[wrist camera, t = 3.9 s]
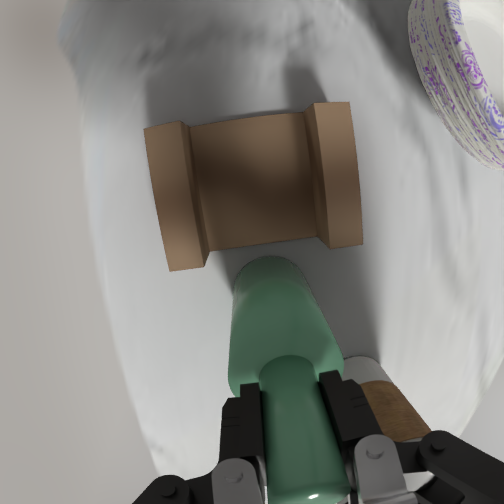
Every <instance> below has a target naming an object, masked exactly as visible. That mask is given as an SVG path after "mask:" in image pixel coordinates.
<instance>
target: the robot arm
mask: <svg viewBox="0 0 504 504" xmlns="http://www.w3.org/2000/svg"><path fill="white" fill-rule="evenodd" d="M319 385H320V388H321V391H322V394H323V397H324V401H325V404H326V407H327V410H328V413H329V417H330V420H331V423H332V426H333V430H334V433H335V436H336V439H337V443H338V446H339V449H340V453H341V456H342V459H343V462H344V466H345V469H346V473H347V476H348V479H349V483H350V486H351V491H350V493H349V494H348V504H418V502H419V503H420V504H504V463H503V462H501V461H499V460H498V459H496V458H494V457H492V456H490V455H488V454H486V453H485V452H482V451H481V450H479V449H477V448H475V447H473V446H472V445H470V444H468V443H466V442H464V441H463V440H461V439H459V438H457V437H456V436H454V435H452V434H450V433H449V432H446V431H442V430H437V431H432V432H430V433H428V434H426V435H425V436H424V437H423V438H422V440H421V441H415V442H396V441H393V440H391V439H390V438H389V437H387V436H385V435H384V434H383V432H382V430H381V428H380V426H379V424H378V422H377V419H376V417H375V415H374V413H373V411H372V409H371V406H370V405H369V402H368V400H367V398H366V397H365V394H364V392H363V389H362V387H361V386H360V385H359V384H358V383H357V382H355V381H354V380H353V379H349V380H344V381H342V378H341V376H340V373H339V371H338V370H337V369H336V370H331V371H326V372H321V373H319ZM264 486H267V482H266V458H265V445H264V431H263V418H262V405H261V392H260V386H259V382H255V383H246V384H240V397H233V398H228V399H227V401H226V403H225V404H224V406H223V407H222V421H221V436H220V452H219V461H218V464H217V465H216V466H215V468H214V469H213V470H212V471H211V472H210V473H208V474H206V475H204V476H201V477H197V478H193V479H189V480H184V479H182V478H181V477H179V476H175V475H164V476H161V477H158V478H156V479H155V480H154V481H153V482H152V483H151V484H150V485H149V486H148V487H147V488H146V490H144V491H143V493H142V494H141V495H140V496H139V497H138V498H137V499H136V500H135V501H134V502H133V503H132V504H265V489H264Z"/></svg>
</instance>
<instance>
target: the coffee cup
mask: <svg viewBox="0 0 504 504" xmlns="http://www.w3.org/2000/svg"><path fill="white" fill-rule="evenodd" d="M349 379H353V380H354V381H355V382H357V383H358V384H359V385H360V386H361V387H362V389H363V392H364V394H365V397H366V398H367V400H368V402H369V405H370V406H371V409H372V411H373V413H374V415H375V417H376V419H377V422H378V424H379V426H380V428H381V430H382V432H383V434H384V435H385V436H387V437H389V438H390V439H391V440H393V441H396V442H415V441H421V440H422V438H423V437H424V436H425V435H426V434H428V433H430V432H432V431H431V429H430V428H429V427H428V425H427V424H426V423H425V422H424V420H423V419H422V418H421V417H420V415H419V414H418V413H417V411H416V410H415V409H414V408H413V406H412V405H411V404H410V403H409V401H408V400H407V399H406V398H405V396H404V395H403V394H402V393H401V391H400V390H399V389H398V388H397V386H395V385H394V383H393V382H392V381H391V379H390V378H389V377H388V375H387V374H386V373H385V371H384V370H383V369H382V367H381V366H380V365H379V364H378V363H377V362H376V361H375V360H374V359H372V358H369V357H365V356H357V357H351V358H347V359H345V360H344V371H343V375H342V381H344V380H349ZM337 504H348V495H347V496H346V497H345V498H344V499H343V500H341V501H339V502H338V503H337ZM418 504H420V503H419V502H418Z"/></svg>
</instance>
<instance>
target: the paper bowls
mask: <svg viewBox="0 0 504 504" xmlns="http://www.w3.org/2000/svg"><path fill="white" fill-rule="evenodd" d="M407 22H408V34H409V42H410V48H411V52H412V55H413V58H414V61H415V64H416V67H417V71H418V73H419V76H420V79H421V81H422V84H423V86H424V88H425V90H426V92H427V94H428V96H429V98H430V100H431V103H432V104H433V106H434V108H435V110H436V111H437V114H438V115H439V117H440V119H441V120H442V122H443V124H444V125H445V126H446V128H447V129H448V130H449V132H450V133H451V134H452V136H453V137H454V138H455V139H456V141H457V142H458V143H459V144H460V145H461V146H462V148H463V149H464V150H465V151H467V152H468V153H469V154H470V155H471V156H473V157H474V158H475V159H476V160H477V161H479V162H480V163H481V164H483V165H484V166H487V167H489V168H492V169H496V170H502V171H504V0H412V2H411V4H410V7H409V11H408V20H407Z"/></svg>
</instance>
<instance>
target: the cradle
mask: <svg viewBox="0 0 504 504" xmlns="http://www.w3.org/2000/svg"><path fill="white" fill-rule="evenodd" d="M144 135H145V143H146V150H147V157H148V163H149V170H150V176H151V182H152V188H153V193H154V199H155V204H156V210H157V215H158V220H159V225H160V230H161V235H162V240H163V244H164V249H165V253H166V258H167V262H168V267H169V271H170V272H171V271H178V270H186V269H193V268H201V267H204V266H205V263H206V260H207V258H208V255H209V252H210V251H216V250H223V249H230V248H237V247H244V246H251V245H258V244H265V243H272V242H280V241H287V240H294V239H301V238H309V237H316V236H318V237H319V238H320V239H321V240H322V241H323V242H324V243H325V245H326V246H327V247H328V248H329V249H335V248H342V247H349V246H356V245H362V244H363V231H362V212H361V197H360V184H359V173H358V163H357V154H356V146H355V138H354V130H353V123H352V116H351V110H350V104H349V102H326V103H313V104H312V105H311V106H310V107H308V108H307V109H306V110H305V111H304V112H299V113H286V114H276V115H266V116H258V117H250V118H242V119H235V120H228V121H222V122H216V123H210V124H204V125H199V126H193V127H189V126H187V125H186V124H184V123H183V122H181V121H175V122H171V123H166V124H162V125H157V126H153V127H149V128H145V129H144Z"/></svg>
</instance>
